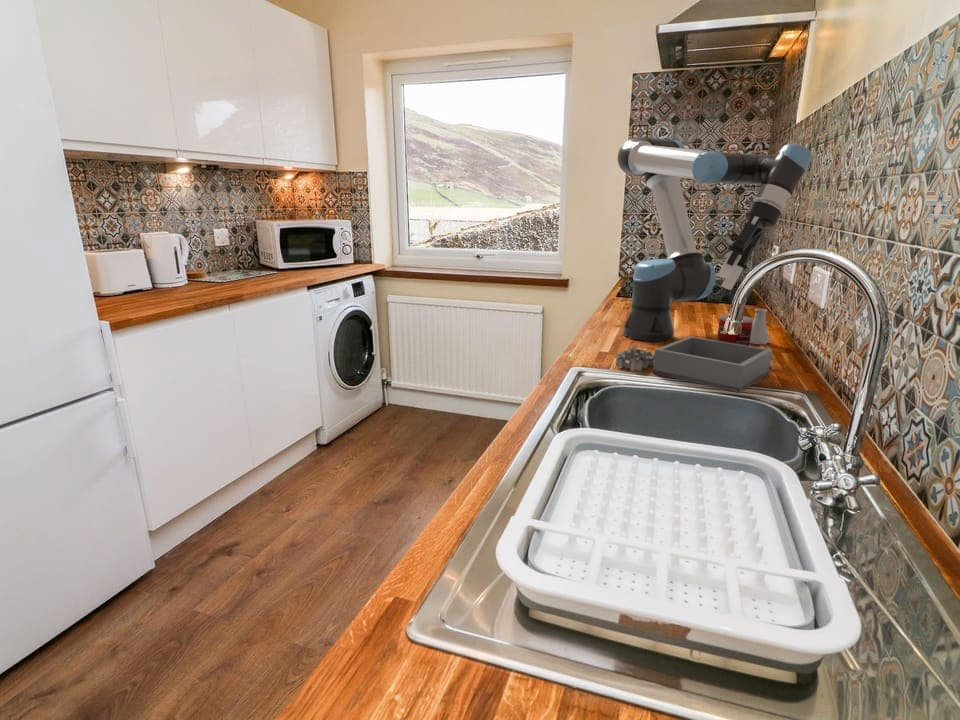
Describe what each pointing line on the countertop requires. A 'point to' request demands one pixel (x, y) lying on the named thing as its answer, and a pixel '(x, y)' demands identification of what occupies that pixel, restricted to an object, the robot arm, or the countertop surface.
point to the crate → (712, 363)
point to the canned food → (736, 339)
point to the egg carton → (634, 359)
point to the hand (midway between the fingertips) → (724, 283)
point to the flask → (759, 328)
